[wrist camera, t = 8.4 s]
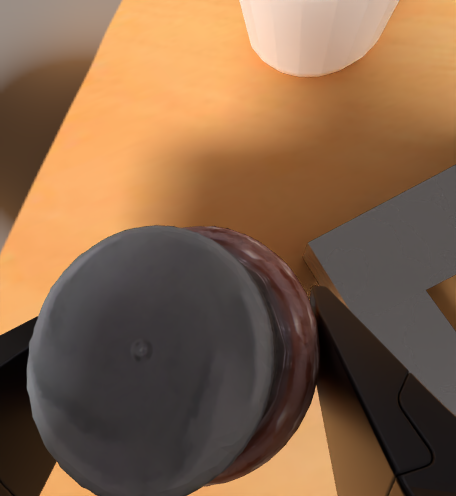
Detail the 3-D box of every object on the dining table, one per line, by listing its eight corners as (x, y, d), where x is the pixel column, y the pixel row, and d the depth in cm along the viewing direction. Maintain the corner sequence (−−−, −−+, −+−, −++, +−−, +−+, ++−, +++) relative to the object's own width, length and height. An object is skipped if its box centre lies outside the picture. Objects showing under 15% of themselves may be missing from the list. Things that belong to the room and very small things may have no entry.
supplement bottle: (296, 276, 15) (340, 153, 5) (302, 401, 14) (393, 664, 3) (186, 278, 16) (9, 179, 6) (180, 395, 15) (-84, 577, 4)
